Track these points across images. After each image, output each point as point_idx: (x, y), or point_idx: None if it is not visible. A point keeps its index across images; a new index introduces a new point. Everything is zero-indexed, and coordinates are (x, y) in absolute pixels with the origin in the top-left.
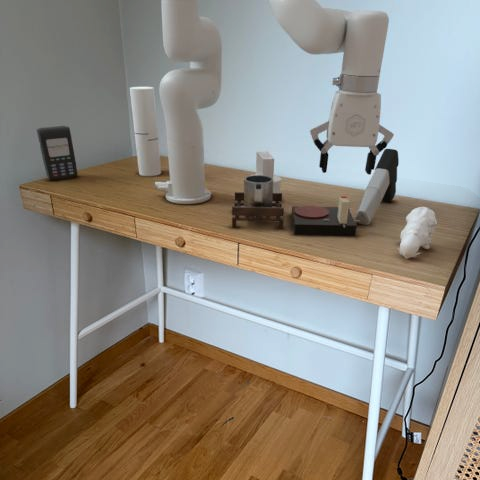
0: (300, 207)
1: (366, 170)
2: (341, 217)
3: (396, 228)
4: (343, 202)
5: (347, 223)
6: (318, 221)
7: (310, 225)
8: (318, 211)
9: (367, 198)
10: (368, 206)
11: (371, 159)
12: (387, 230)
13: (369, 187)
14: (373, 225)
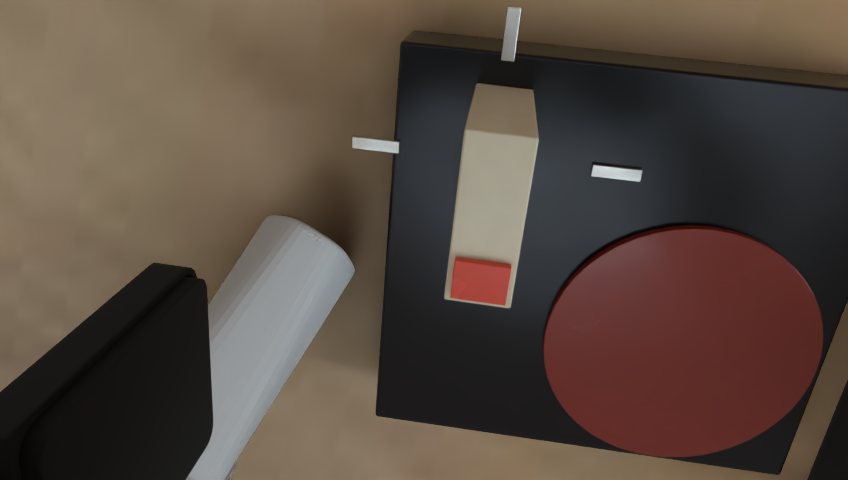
0: (739, 426)
1: (199, 375)
2: (524, 100)
3: (104, 159)
4: (526, 134)
5: (465, 93)
6: (692, 151)
7: (788, 79)
8: (627, 338)
9: (241, 355)
10: (253, 272)
11: (49, 390)
12: (167, 127)
13: (194, 478)
14: (244, 220)
